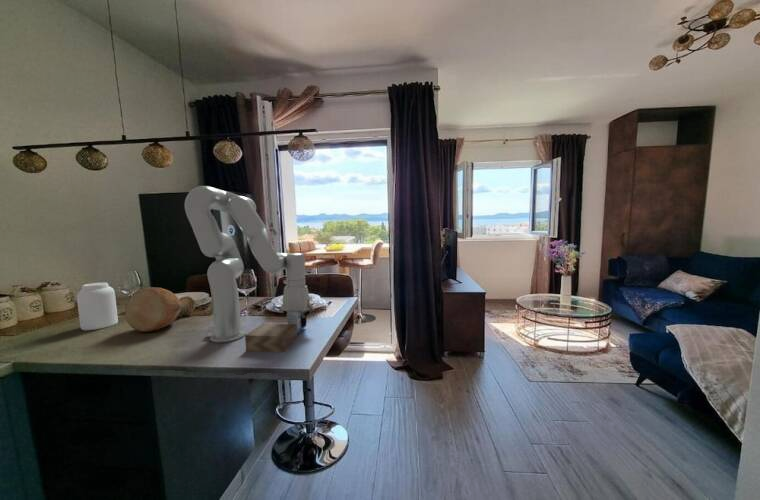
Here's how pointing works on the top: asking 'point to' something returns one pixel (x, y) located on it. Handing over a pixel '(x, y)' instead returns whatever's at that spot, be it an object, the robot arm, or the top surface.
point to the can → (97, 306)
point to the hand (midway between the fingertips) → (297, 325)
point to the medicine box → (295, 319)
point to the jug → (156, 308)
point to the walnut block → (271, 337)
